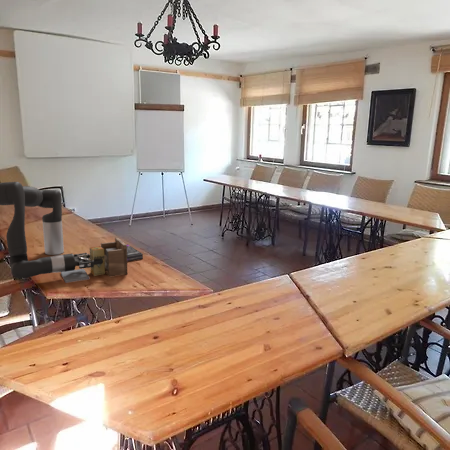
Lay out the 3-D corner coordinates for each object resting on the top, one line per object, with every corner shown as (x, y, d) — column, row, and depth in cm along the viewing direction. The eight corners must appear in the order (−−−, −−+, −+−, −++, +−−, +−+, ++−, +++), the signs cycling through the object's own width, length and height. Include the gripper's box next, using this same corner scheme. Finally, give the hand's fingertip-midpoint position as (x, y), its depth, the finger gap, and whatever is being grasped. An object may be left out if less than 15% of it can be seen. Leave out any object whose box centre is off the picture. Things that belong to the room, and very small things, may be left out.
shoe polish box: (105, 273, 183) (103, 248, 180) (94, 275, 180) (93, 250, 177) (101, 270, 187) (100, 246, 184) (90, 272, 184) (89, 247, 181)
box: (103, 254, 213) (117, 264, 197) (102, 248, 212) (116, 257, 196) (128, 250, 221) (143, 259, 205) (127, 244, 220) (143, 252, 205)
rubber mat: (61, 273, 181) (60, 271, 181) (83, 270, 186) (83, 268, 186) (65, 282, 171) (65, 280, 171) (89, 279, 176) (89, 277, 176)
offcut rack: (101, 267, 191) (100, 239, 188) (118, 264, 195) (117, 237, 192) (109, 276, 179) (108, 247, 176) (127, 274, 183) (126, 245, 180)
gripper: (64, 259, 167) (103, 254, 176) (59, 250, 179) (96, 246, 187) (65, 276, 169) (104, 270, 177) (60, 266, 181) (96, 261, 189)
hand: (100, 258), depth 182 cm, fingers open, 8 cm apart
